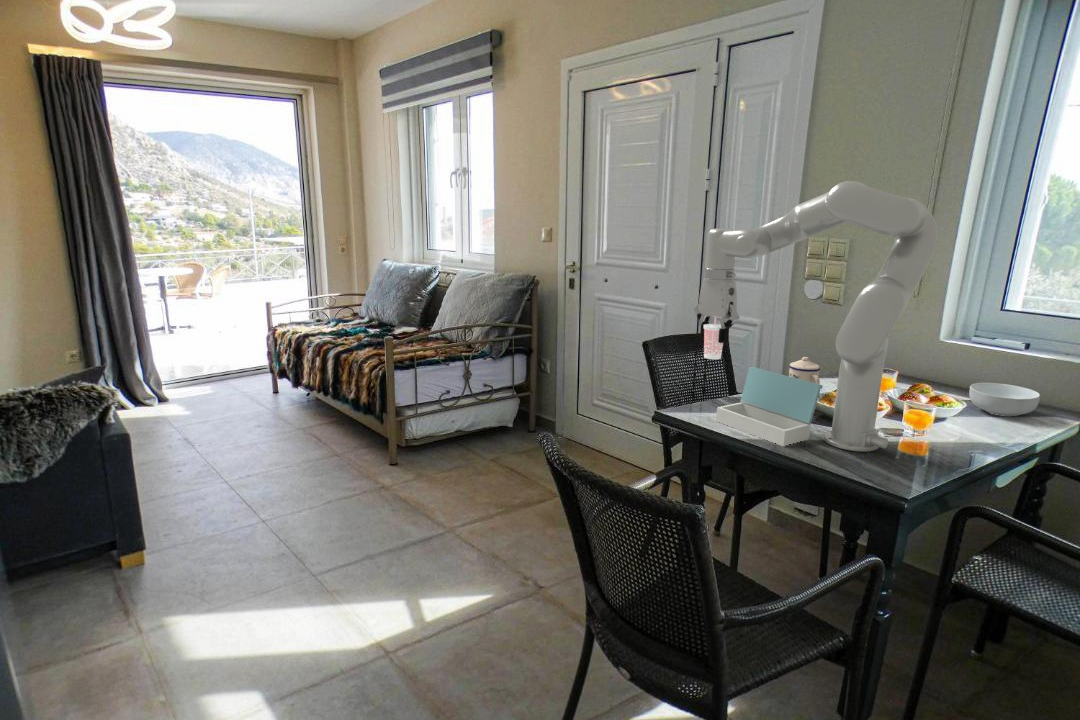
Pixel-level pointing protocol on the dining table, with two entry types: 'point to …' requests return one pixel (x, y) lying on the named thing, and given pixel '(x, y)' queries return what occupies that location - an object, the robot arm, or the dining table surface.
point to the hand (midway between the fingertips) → (713, 339)
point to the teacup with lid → (805, 370)
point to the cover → (781, 394)
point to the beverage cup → (712, 341)
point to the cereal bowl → (1003, 398)
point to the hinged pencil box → (763, 423)
